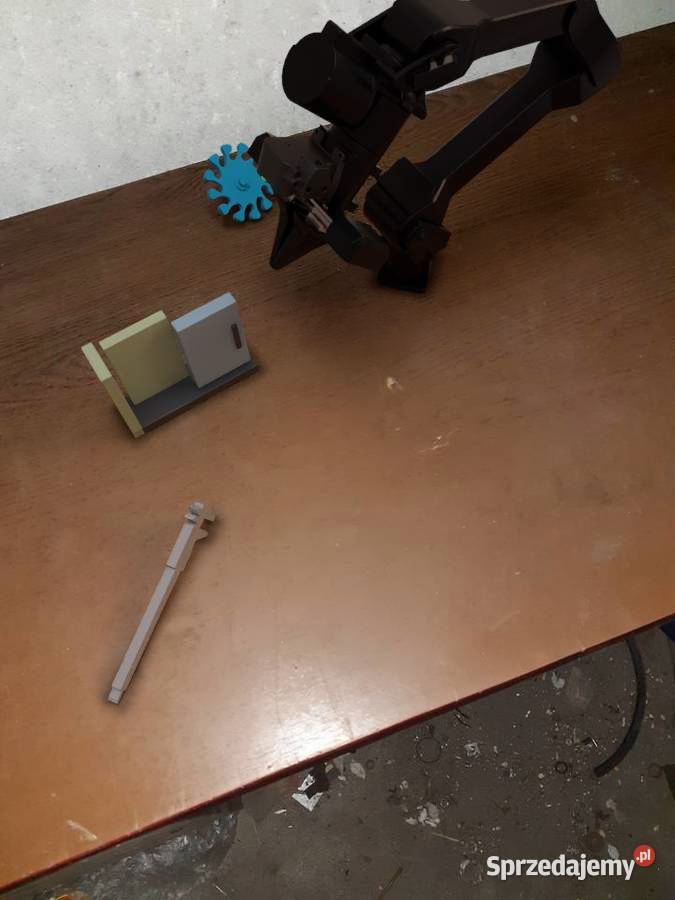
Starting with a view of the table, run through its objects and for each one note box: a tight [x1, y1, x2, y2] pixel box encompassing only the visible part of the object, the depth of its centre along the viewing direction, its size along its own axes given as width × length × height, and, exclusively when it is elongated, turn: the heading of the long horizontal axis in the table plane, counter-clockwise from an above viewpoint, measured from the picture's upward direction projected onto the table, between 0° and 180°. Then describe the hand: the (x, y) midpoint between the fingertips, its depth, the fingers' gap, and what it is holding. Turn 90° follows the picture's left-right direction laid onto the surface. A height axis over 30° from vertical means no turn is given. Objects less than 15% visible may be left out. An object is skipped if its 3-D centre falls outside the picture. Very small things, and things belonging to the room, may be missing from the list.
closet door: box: [170, 291, 250, 388], centre depth 76 cm, size 7×2×11 cm, turn 124°
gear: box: [202, 142, 275, 223], centre depth 94 cm, size 11×6×10 cm
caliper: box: [107, 501, 216, 705], centre depth 67 cm, size 20×1×6 cm, turn 158°
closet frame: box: [80, 309, 260, 439], centre depth 76 cm, size 16×5×12 cm, turn 124°
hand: (273, 267), depth 74 cm, fingers closed
